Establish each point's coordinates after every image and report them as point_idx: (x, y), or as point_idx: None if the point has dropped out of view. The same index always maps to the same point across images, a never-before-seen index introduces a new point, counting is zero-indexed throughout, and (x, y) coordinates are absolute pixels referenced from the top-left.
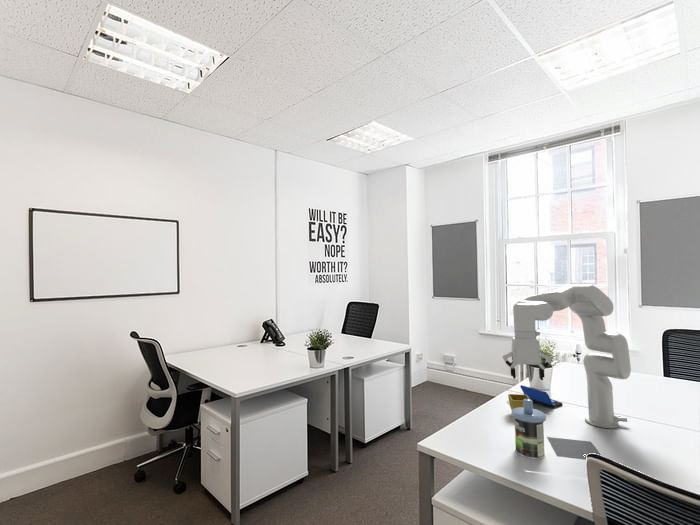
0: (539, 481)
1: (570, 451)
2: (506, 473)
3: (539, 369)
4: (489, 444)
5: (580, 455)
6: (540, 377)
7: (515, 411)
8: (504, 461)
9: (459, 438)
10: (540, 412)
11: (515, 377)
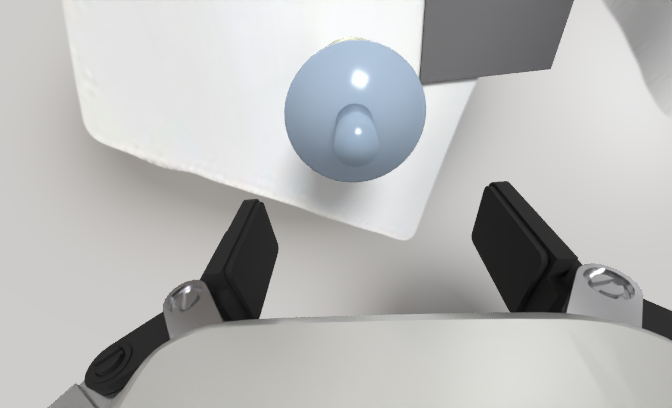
0: (356, 201)
1: (474, 32)
2: (298, 195)
3: (525, 278)
4: (237, 68)
5: (493, 52)
6: (480, 238)
7: (301, 120)
8: (290, 152)
9: (143, 59)
10: (410, 93)
11: (276, 256)
